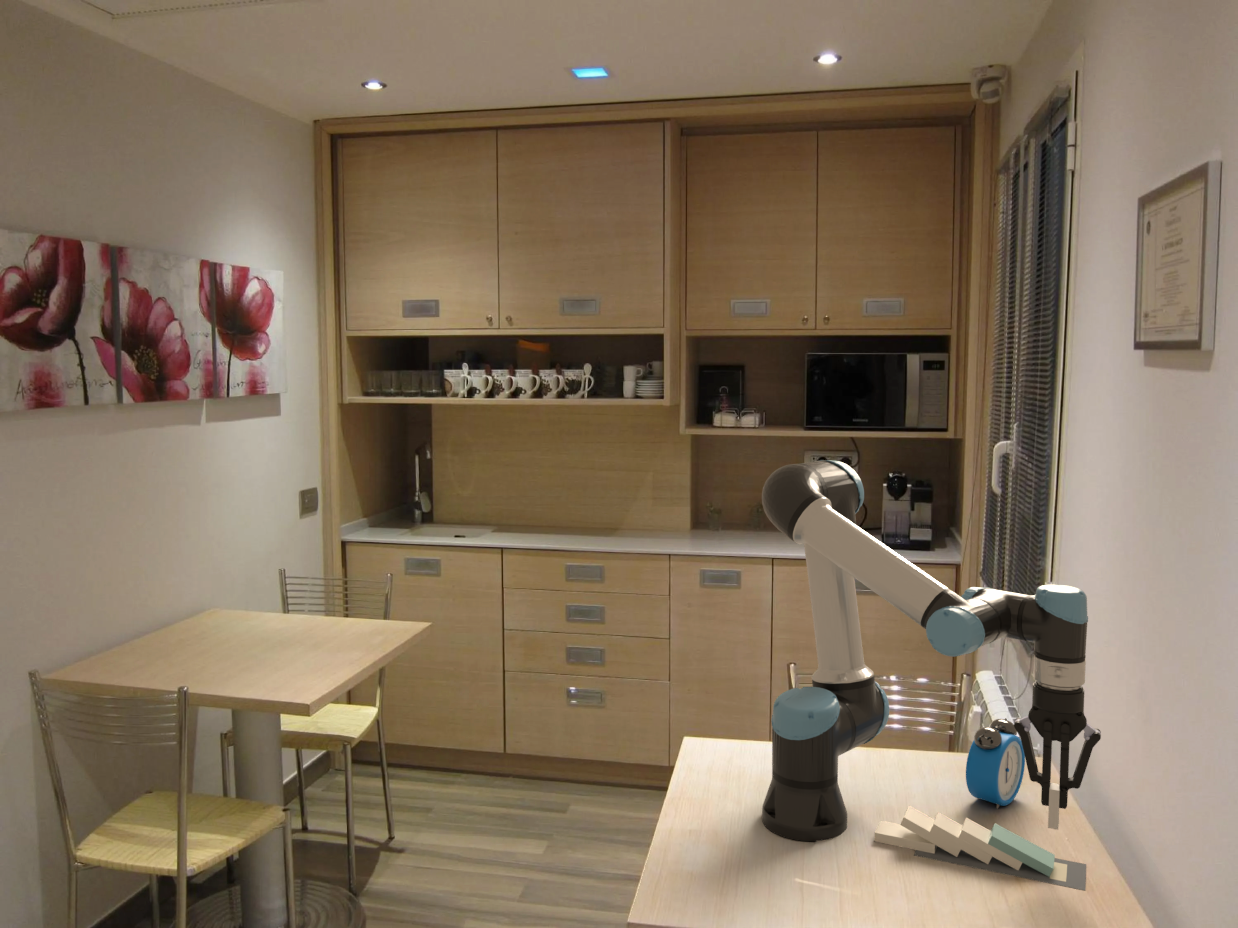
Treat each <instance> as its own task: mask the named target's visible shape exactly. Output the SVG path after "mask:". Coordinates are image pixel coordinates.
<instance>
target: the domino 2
mask: <svg viewBox="0 0 1238 928" xmlns="http://www.w3.org/2000/svg"><path fill="white" fill-rule="evenodd" d="M934 819H935V818H932V817H931V816H929V815H927V814H926V813H924V812H922V811H920V810H918V809H916V808H915V807H913V806H911V805H908V806H907V810H906V811H905V812H904V815H903V817H902V820H901V822H900V823H899V824H900V825H901V826H903V827H905V828H907V829H908V830H910V831H912V832H914V833H915V834H917V835H919V836H921V837H922V838H924V839H926V840H928V841H929V842H931V843H933V844H935V845H937V846H938V847H940V848H942V849H944V850H945V851H947V852H949V853H951V854H952V855H954V856H956V857H957V856H958V854H959V852H960V850H961V849H960V848H958V847H956V846H954V845H952V844H951V843H949V842H947V841H945V840H943V839H942V838H940V837H938V836H936V835H935V834H933V833H931V832H930V830H931V827H932V825H933V822H934Z"/></svg>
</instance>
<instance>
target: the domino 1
mask: <svg viewBox="0 0 1238 928" xmlns="http://www.w3.org/2000/svg"><path fill="white" fill-rule="evenodd" d="M900 824H901V823H895V822H892V821H891V822H890V821H885V820H880V821H879V823H878V824H877V826H876V828H875V831H874V843H881V844H886V845H889V846H895V847H901V848H904V849H905V848H906V849H909V850H915V851H916V850H919V851H924V852H929V853H934V854H935V851H936V848H937V845H935V844H933V843H931V842H929V841H928V840H926V839H924V838H922V837H921V836H919V835H917V834H915V833H914V832H912V831H910V830H908V829H907V828H905V827H903V826H901V825H900Z"/></svg>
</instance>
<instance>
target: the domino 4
mask: <svg viewBox="0 0 1238 928" xmlns="http://www.w3.org/2000/svg"><path fill="white" fill-rule="evenodd" d="M961 825H962V828H961V831H960V835H959V838H960V839H961V840H963V841H965V842H967V843H969V844H971V845H972V846H974V847H976V848H978V849H980V850H982V851H983V852H985V853H987V854H989V855H991V856H992V857H994V858H996V859H998V860H1000V861H1002V862H1003V863H1005V864H1007V865H1009V866H1011V867H1012V868H1014V869H1016V870H1019V868H1020V866H1021V865H1022V862H1021V861H1019V860H1017V859H1015V858H1013V857H1011V856H1009V855H1008V854H1006V853H1004V852H1002V851H1000V850H998V849H996V848H995V847H993V846H991V845H989V844H988V841H989V837H990V833H991V829H989V828H986V827H984V826H982V825H981V824H979V823H977V822H975V821H973V820H972V819H970V818H968V817H965V819H964V820H963V823H962V824H961Z"/></svg>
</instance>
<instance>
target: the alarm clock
mask: <svg viewBox="0 0 1238 928" xmlns="http://www.w3.org/2000/svg"><path fill="white" fill-rule="evenodd" d="M1007 719H1008V718H996V719H994V720H992V721H991V723H990V725H989V726H984V727H980V728H978V730H976V732H975V734H974V735H973V736H974V737H973V741H972V743H971V745H970V746H969V747H970V748H969V750H968V755H967V759H966V764H965V765H966V766H965V783H966V786H967V790H968V792H969V794H970V795H971V796H972V797H974V798H976V799H979V800H982V801H986V802H989V803H992V804H995V805H996V809H997V810H999V809H1000V807H1001V806H1009V805H1010V804H1011V803H1012V802H1013V801H1014V800H1015V798H1016V797H1017V796H1018V793H1019V791H1020V788H1021V785H1022V783H1023V779H1024V775H1025V774H1024V773H1025V765H1026V759H1025V755H1024V750H1023V746H1022V742H1021V737H1020V736H1017V735H1018V732H1017V731H1016V729H1015V727H1014V723H1013V722H1012V721H1010V720H1007Z"/></svg>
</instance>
